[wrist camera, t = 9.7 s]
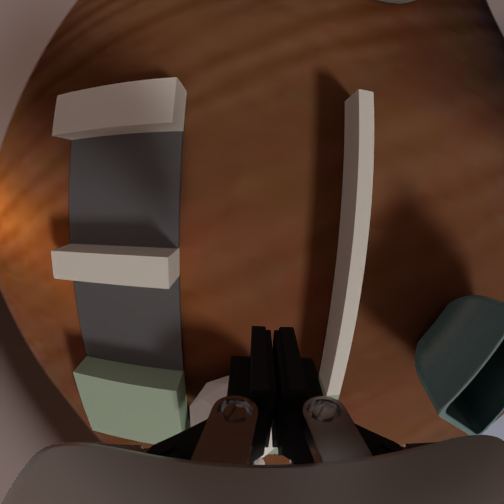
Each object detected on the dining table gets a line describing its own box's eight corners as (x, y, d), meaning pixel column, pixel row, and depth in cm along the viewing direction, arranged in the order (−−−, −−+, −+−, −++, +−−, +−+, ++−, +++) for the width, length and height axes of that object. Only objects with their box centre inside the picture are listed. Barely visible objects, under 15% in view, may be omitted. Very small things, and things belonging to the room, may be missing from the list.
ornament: (273, 347, 22) (325, 435, 16) (244, 391, 26) (282, 463, 20) (184, 362, 18) (229, 473, 13) (173, 405, 22) (206, 489, 17)
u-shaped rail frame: (77, 104, 18) (57, 95, 15) (357, 103, 18) (373, 92, 15) (103, 411, 24) (92, 429, 21) (316, 429, 24) (322, 451, 21)
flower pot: (387, 350, 22) (436, 416, 14) (451, 270, 21) (523, 306, 12) (433, 386, 23) (477, 440, 15) (487, 319, 22) (544, 357, 13)
